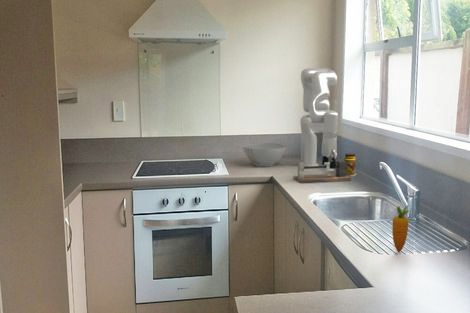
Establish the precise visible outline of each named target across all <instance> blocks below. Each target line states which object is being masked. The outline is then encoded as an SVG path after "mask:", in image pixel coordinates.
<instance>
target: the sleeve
mask: <svg viewBox="0 0 470 313" xmlns="http://www.w3.org/2000/svg"><path fill="white" fill-rule="evenodd" d="M323 166H327V168H323V171H326V172H334V171H335V169H330V161H328V162H324V165H323Z"/></svg>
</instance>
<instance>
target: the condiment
mask: <svg viewBox="0 0 470 313" xmlns="http://www.w3.org/2000/svg"><path fill="white" fill-rule="evenodd" d="M355 156H356V155H355V153H351V152H350V153H348V152H347V153H345V157H344V160H343V161H345V162H347V163H346V176H348V177H355V176H356V175H357V173H356V157H355Z"/></svg>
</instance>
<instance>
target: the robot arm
mask: <svg viewBox="0 0 470 313" xmlns="http://www.w3.org/2000/svg"><path fill="white" fill-rule="evenodd" d="M300 80H301V85H302V88H303V95H302V96H303V97H302V107H303V111H304V112H305V113H308V114H305V115H302V116H301V117H300V121H299V122H300V123H299V125H300V131H301V132H300V133H301V140H300V141H301V143H300V144H301V146H300V163H304V167H305V166H320V165H319V163H317V152H318V151H317V150H318V149H317V148H318V138H317V135H316V133H314V131H322V141H321V151H320V152H321V154H320V155H322V162H321V166H324V162H330V169H334V170H336V161H337V158H338V153H337V150H338V148H337V147H338V146H337V142H338V129H339V128H338V125H339V113H338V112H337V111H336V110H332V109H330V100H329V97H330V96H331V94H330V93H331V92H330V88H329V87H334V86H335V87H336V86H337V83H338V75H337V73H336V72H335V71H334V70H332V69H330V68H323V67H321V68H319V67H318V68H317V67H314V68H313V67H309V68H304V69H303V70H302V71H301V73H300Z"/></svg>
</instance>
